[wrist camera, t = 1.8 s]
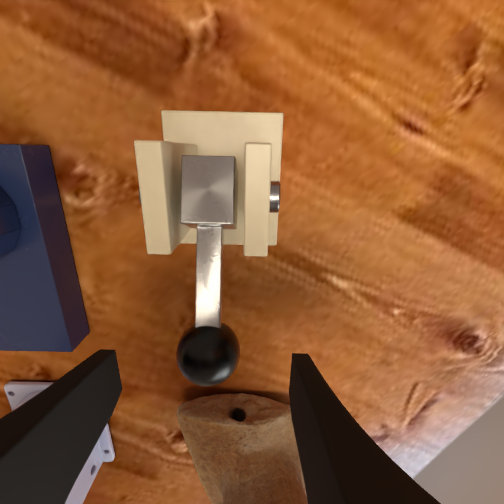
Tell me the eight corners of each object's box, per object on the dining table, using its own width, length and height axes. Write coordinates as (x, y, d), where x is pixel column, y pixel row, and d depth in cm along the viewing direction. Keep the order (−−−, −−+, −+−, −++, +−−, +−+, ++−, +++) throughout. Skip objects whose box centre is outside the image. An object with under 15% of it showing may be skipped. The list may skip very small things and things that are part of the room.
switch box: (275, 241, 19) (288, 295, 12) (175, 239, 19) (128, 292, 12) (281, 114, 17) (304, 85, 9) (165, 112, 17) (96, 81, 9)
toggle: (240, 370, 14) (237, 400, 11) (184, 368, 14) (167, 399, 11) (244, 173, 14) (242, 153, 11) (188, 172, 14) (172, 152, 11)
